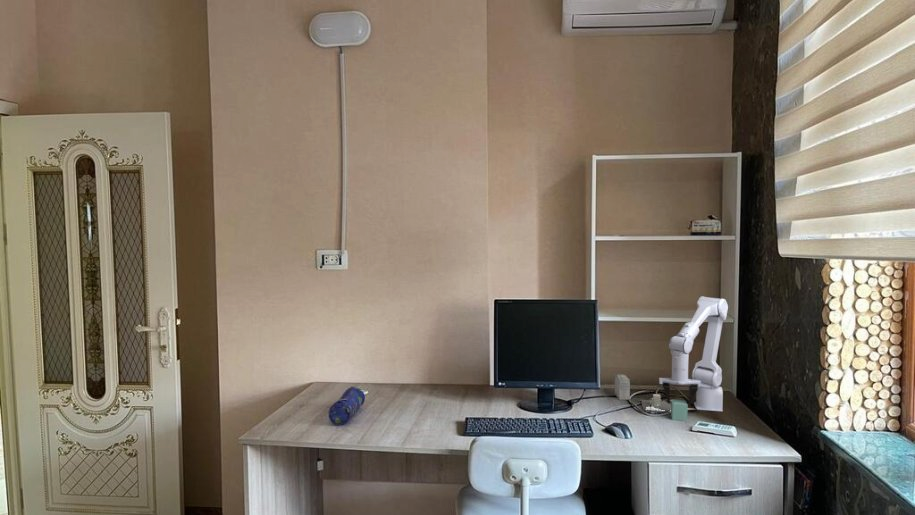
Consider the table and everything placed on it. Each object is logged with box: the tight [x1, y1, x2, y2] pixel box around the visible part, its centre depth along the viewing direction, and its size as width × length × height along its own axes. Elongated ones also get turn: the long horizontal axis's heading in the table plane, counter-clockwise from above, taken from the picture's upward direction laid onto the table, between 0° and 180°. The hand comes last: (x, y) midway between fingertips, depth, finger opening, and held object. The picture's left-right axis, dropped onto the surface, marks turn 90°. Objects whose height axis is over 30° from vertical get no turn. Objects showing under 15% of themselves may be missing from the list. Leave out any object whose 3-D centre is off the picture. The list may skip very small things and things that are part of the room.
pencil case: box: [328, 386, 366, 427], centre depth 216 cm, size 22×9×10 cm, turn 174°
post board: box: [640, 393, 671, 411], centre depth 225 cm, size 11×11×5 cm
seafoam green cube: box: [670, 399, 689, 422], centre depth 212 cm, size 5×5×6 cm
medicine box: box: [614, 374, 631, 401], centre depth 237 cm, size 8×4×9 cm, turn 179°
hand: (679, 403), depth 212 cm, fingers open, 7 cm apart
